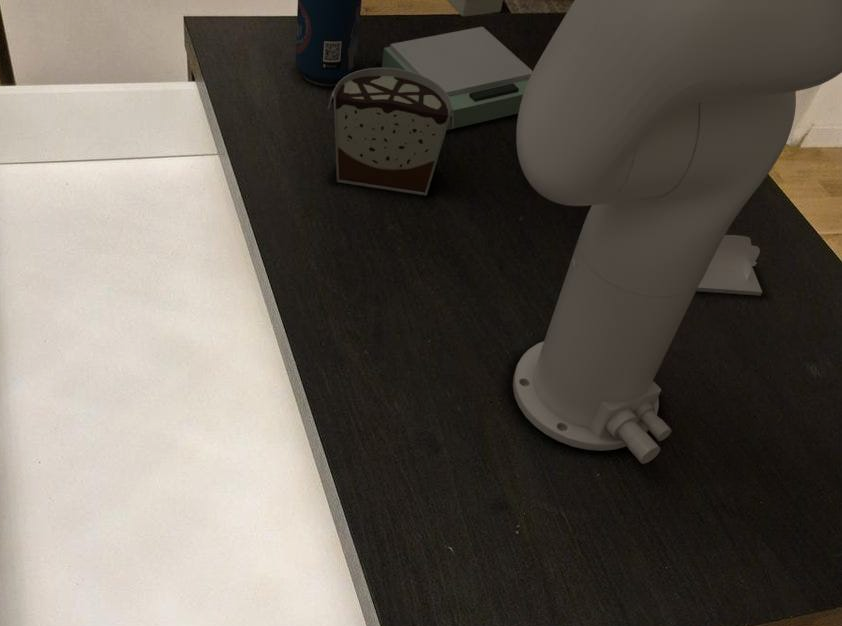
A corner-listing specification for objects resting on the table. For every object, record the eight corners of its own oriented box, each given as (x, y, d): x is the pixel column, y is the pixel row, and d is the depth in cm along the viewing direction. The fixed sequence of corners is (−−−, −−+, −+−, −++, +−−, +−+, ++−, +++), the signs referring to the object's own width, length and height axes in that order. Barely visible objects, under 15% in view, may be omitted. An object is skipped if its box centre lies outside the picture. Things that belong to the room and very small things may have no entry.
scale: (544, 107, 111) (550, 83, 108) (443, 131, 105) (448, 106, 103) (479, 47, 118) (483, 23, 115) (381, 67, 112) (384, 42, 110)
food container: (444, 163, 102) (460, 75, 94) (441, 197, 98) (457, 109, 90) (330, 145, 101) (336, 56, 94) (322, 179, 98) (328, 89, 90)
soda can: (291, 56, 111) (295, -51, 102) (349, 57, 113) (358, -49, 103) (299, 89, 107) (303, -19, 98) (359, 89, 109) (369, -18, 99)
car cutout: (743, 251, 98) (761, 215, 94) (760, 295, 94) (780, 259, 90) (601, 241, 96) (615, 204, 93) (613, 285, 92) (627, 248, 89)
